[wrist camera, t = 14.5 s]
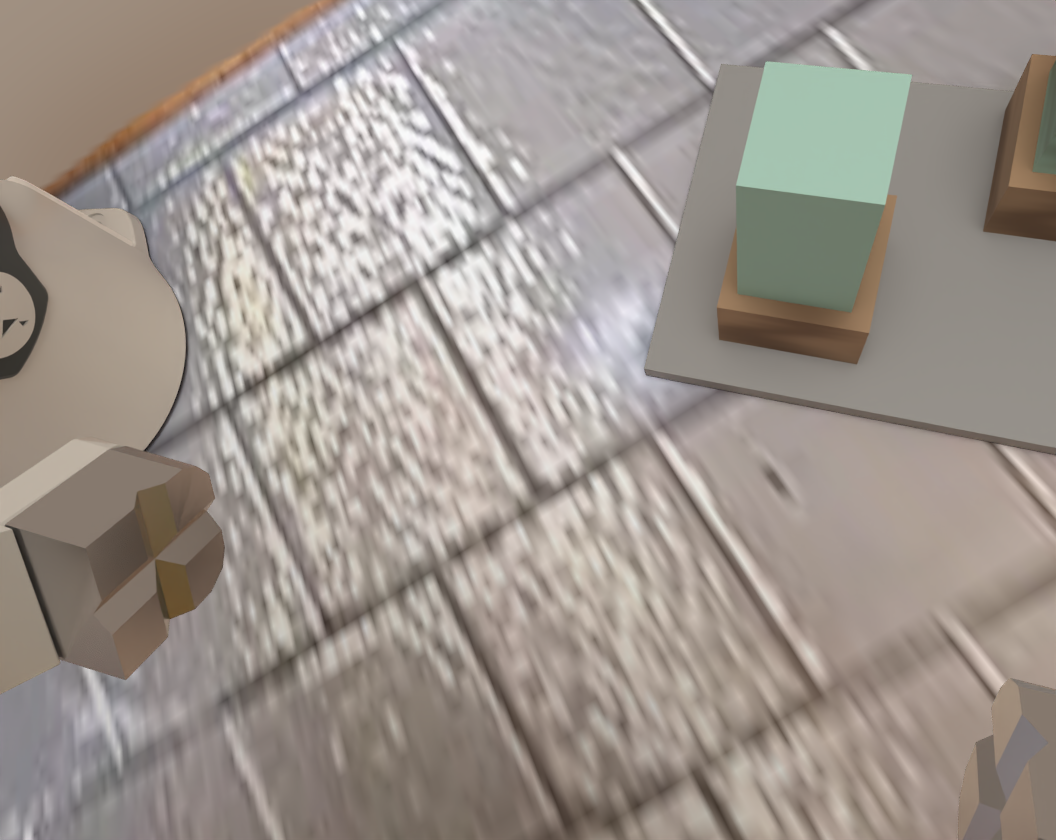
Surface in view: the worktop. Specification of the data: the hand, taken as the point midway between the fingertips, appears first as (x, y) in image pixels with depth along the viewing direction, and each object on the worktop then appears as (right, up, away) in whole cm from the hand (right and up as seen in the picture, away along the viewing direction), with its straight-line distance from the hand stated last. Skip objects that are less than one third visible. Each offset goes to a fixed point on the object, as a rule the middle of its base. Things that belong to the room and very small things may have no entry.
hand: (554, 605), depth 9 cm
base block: (+12, +8, +31) cm, 34 cm away
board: (+17, +9, +32) cm, 37 cm away
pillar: (+11, +9, +28) cm, 31 cm away
